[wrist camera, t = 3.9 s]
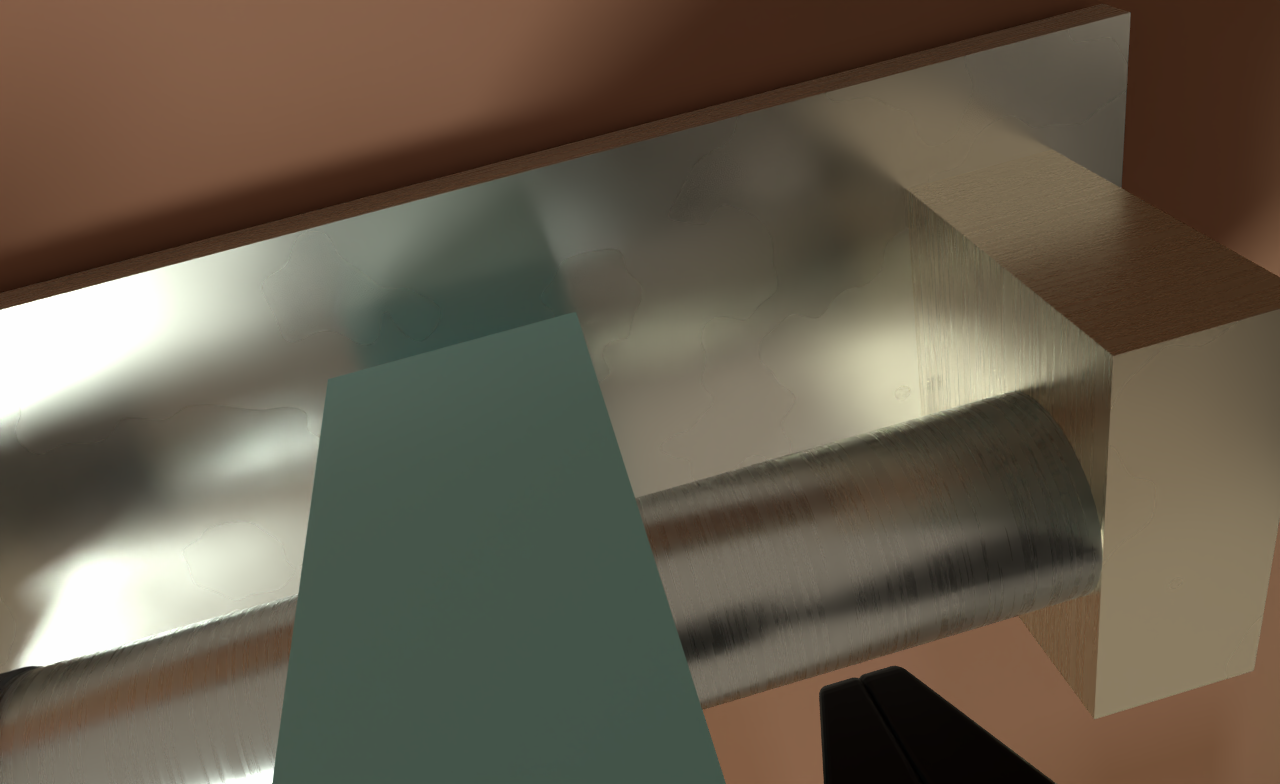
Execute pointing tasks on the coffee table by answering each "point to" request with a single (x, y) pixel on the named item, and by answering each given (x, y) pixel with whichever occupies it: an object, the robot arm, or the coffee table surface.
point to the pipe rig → (681, 403)
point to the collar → (483, 584)
